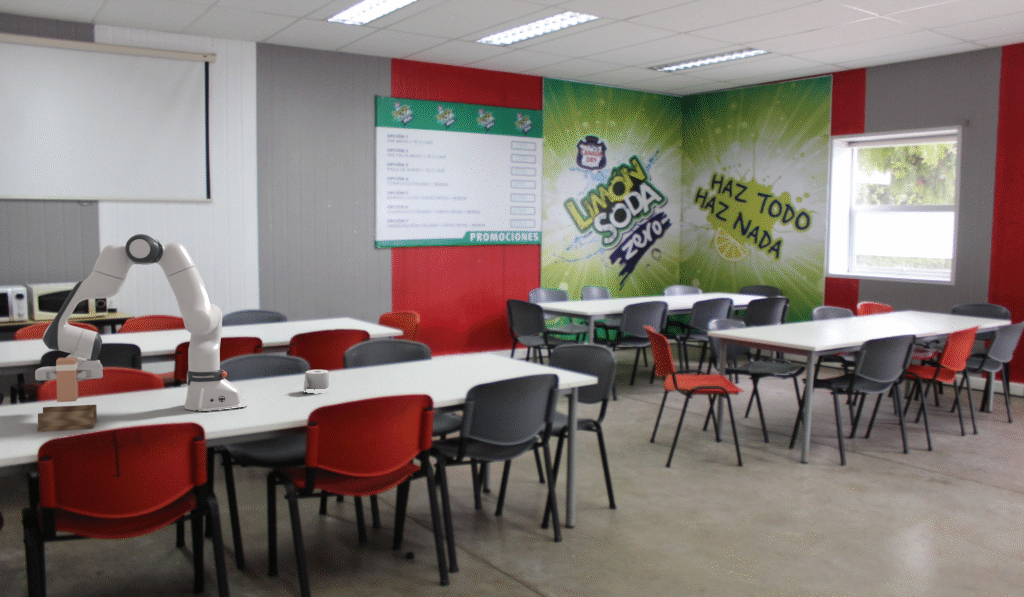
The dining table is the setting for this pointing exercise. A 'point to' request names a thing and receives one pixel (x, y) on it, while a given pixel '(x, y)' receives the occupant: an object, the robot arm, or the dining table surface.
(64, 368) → the carton
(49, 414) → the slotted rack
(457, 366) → the dining table surface
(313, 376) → the toilet tissue
